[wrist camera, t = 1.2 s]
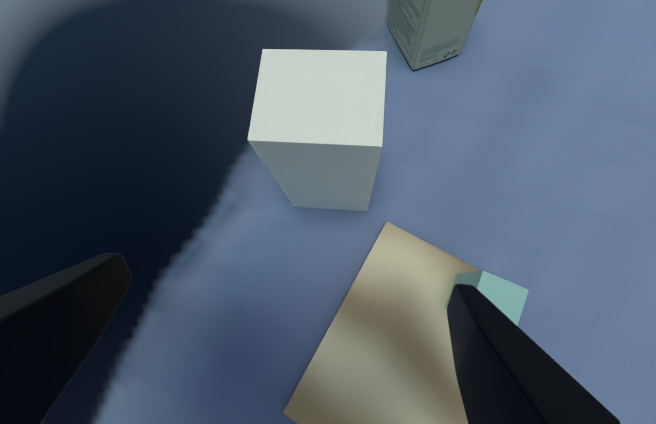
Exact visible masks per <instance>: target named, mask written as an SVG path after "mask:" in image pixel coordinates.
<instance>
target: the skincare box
mask: <svg viewBox="0 0 656 424" xmlns="http://www.w3.org/2000/svg"><path fill="white" fill-rule="evenodd" d="M481 3H482V0H387V7H386V16H385V20H386V22H387V24H388V26H389V28H390V30H391V32H392V34H393V36H394V38H395V40H396V42H397V43H398V45H399V47H400V49H401V51H402V52H403V54H404V56H405V58H406V59H407V61H408V63H409V64H410V66H411V68H412V69H413V70H416V69H419V68H422V67H425V66H428V65H431V64H434V63H437V62H440V61H442V60H445V59H448V58H450V57H453V56H455V55H458V54H459V53H460V51H461V49H462V46H463V44H464V42H465V40H466V37H467V35H468V33H469V31H470V28H471V26H472V24H473V21H474V19H475V17H476V14H477V12H478V10H479V7H480V5H481Z"/></svg>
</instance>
